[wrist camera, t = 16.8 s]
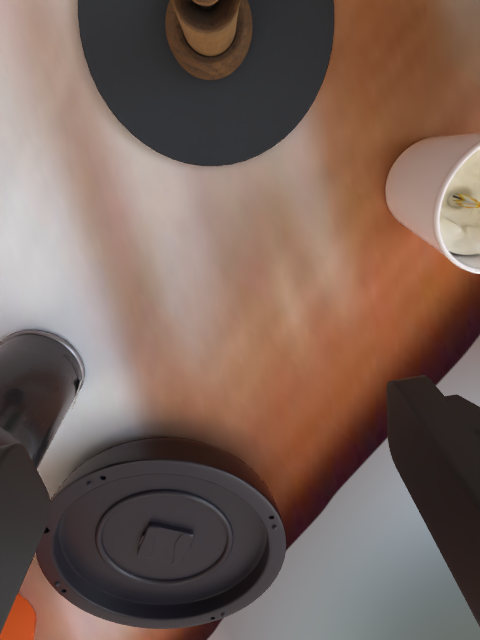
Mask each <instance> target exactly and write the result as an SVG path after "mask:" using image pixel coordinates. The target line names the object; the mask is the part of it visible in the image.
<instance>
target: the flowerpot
mask: <svg viewBox="0 0 480 640" xmlns="http://www.w3.org/2000/svg"><path fill="white" fill-rule="evenodd" d="M35 625H36V615H35V612H34V610H33V608H32V606H31V605H30V604H29V602H28V601H27V600H26V599H24V598H23V597H22V596H21V595H19V594H17V596H16V599H15V601H14V603H13V606H12V608H11V610H10V613H9V615H8V617H7V620H6V622H5V624H4V627H3V629H2V632H1V634H0V640H33V639H34V632H35Z"/></svg>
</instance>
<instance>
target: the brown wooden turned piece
mask: <svg viewBox="0 0 480 640" xmlns="http://www.w3.org/2000/svg"><path fill="white" fill-rule="evenodd" d="M165 27H166V35H167V40H168V43H169V46H170V48H171V51H172V53H173V54H174V56H175V58H176V60H177V61H178V63H179V64H180V65H181V66H182V67H183V69H185V70H186V71H187V72H188V73H189V74H191V75H193V76H194V77H197V78H199V79H203V80H217V79H221V78H224V77H226V76H228V75H230V74H231V73H233V72H234V71H235V70H236V69H237V68H238V67H239V66H240V65H241V63H242V62H243V60H244V58H245V56H246V54H247V52H248V49H249V46H250V42H251V37H252V15H251V10H250V7H249V4H248V1H247V0H170V1H169V4H168V7H167V12H166V20H165Z"/></svg>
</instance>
